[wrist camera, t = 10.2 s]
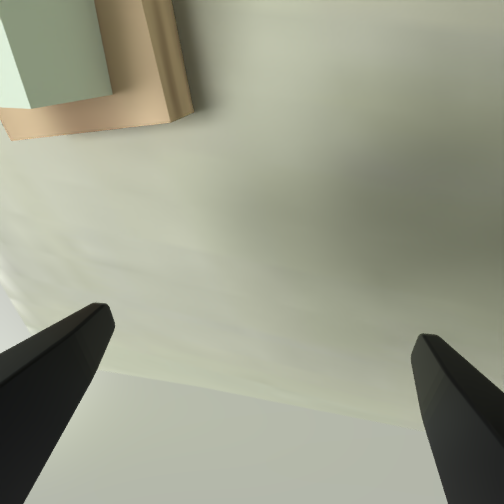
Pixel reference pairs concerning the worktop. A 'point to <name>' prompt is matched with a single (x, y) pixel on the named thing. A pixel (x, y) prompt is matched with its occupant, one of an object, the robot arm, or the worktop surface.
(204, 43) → the worktop surface
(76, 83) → the sage block
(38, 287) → the worktop surface
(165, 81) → the oak block
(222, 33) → the worktop surface
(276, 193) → the worktop surface
